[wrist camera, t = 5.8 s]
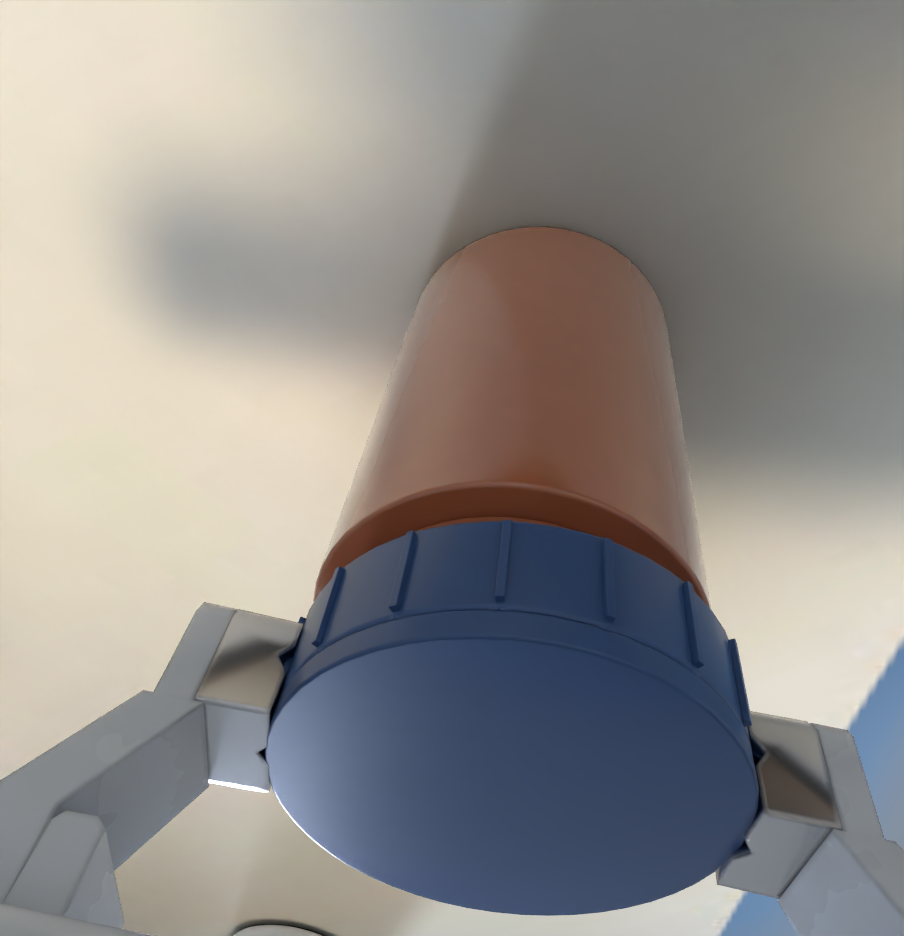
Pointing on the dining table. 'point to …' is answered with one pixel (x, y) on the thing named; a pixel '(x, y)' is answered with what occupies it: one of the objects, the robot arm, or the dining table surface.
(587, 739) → the jar lid
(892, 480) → the dining table surface
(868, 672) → the dining table surface
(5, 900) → the robot arm
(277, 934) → the bath foam
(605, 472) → the jar
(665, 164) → the dining table surface
